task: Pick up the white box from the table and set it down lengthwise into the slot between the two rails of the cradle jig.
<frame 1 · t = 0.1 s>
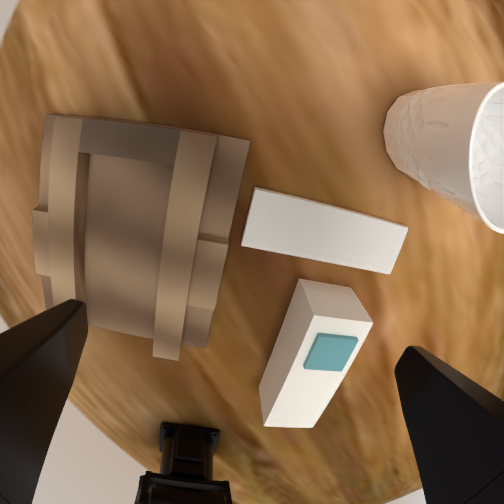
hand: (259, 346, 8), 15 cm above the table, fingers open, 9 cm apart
cradle: (127, 235, 22), on the table
white cup: (419, 134, 20), on the table
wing: (326, 230, 23), on the table
white box: (301, 341, 27), on the table
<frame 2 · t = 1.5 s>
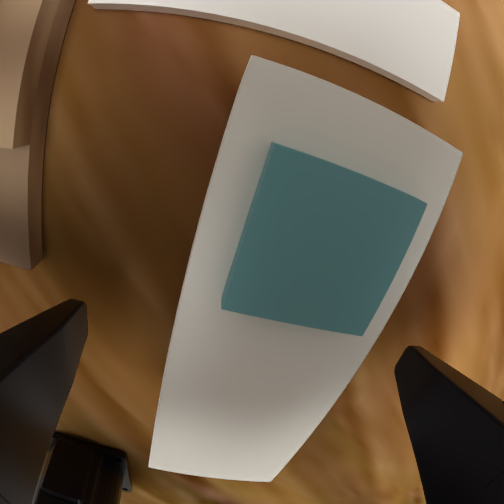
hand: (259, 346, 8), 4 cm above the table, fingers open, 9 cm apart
white box: (251, 271, 12), on the table
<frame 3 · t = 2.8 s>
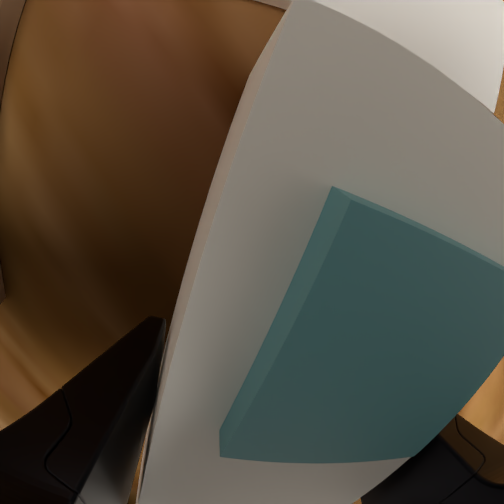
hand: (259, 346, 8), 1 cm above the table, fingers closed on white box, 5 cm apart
white box: (255, 323, 9), on the table, touching gripper
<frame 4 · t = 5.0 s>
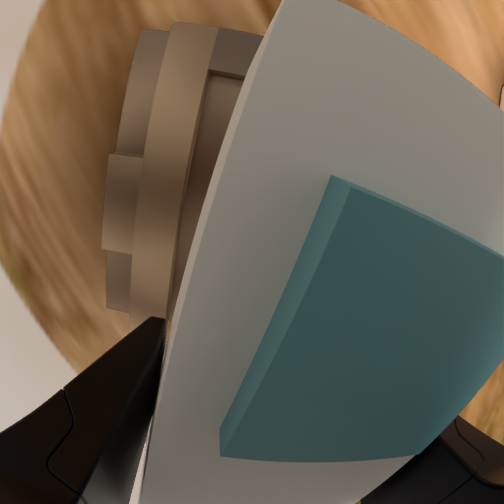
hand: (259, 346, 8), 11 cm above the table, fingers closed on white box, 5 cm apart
cradle: (243, 197, 17), on the table
white box: (256, 321, 9), point 10 cm above the table, touching gripper
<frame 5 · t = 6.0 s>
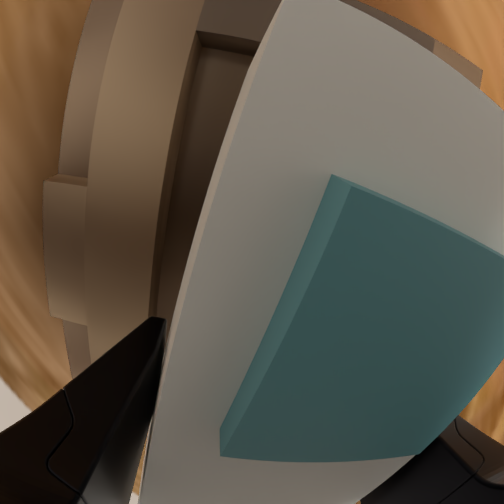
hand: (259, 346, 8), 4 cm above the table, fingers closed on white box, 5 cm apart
cradle: (253, 241, 11), on the table
white box: (256, 321, 9), point 3 cm above the table, touching gripper
when the fingers open (3 cm above the table, at t = 7.0 s): white box drops 1 cm, resting on cradle.
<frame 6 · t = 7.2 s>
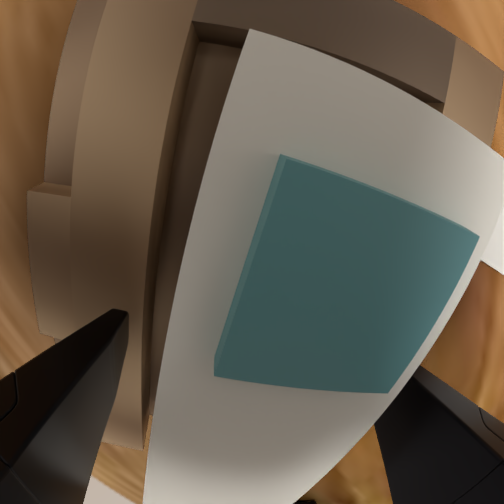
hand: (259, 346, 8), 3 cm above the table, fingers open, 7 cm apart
cradle: (256, 254, 11), on the table
white box: (252, 296, 10), point 1 cm above the table, touching cradle
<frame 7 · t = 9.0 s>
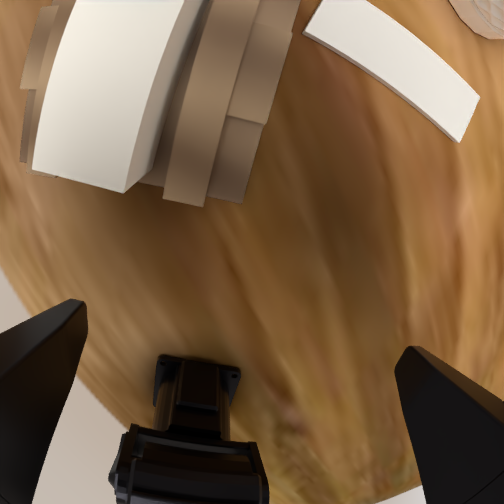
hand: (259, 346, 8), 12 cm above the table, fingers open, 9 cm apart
cradle: (153, 39, 14), on the table
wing: (397, 64, 16), on the table
white box: (144, 52, 13), point 1 cm above the table, touching cradle
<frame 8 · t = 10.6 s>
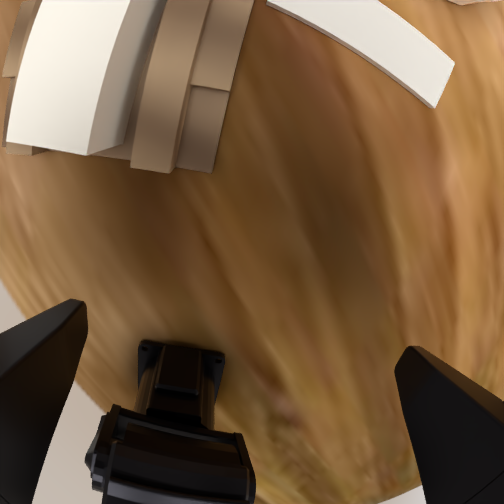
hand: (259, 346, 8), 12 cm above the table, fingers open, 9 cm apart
cradle: (124, 23, 14), on the table
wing: (365, 31, 15), on the table
white box: (115, 35, 13), point 1 cm above the table, touching cradle
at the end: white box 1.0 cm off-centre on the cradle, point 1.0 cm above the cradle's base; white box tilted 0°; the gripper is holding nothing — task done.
